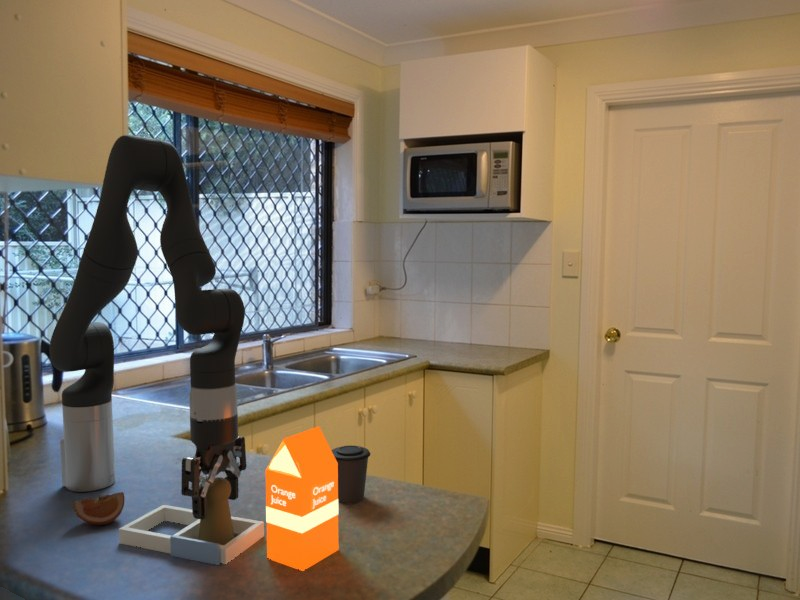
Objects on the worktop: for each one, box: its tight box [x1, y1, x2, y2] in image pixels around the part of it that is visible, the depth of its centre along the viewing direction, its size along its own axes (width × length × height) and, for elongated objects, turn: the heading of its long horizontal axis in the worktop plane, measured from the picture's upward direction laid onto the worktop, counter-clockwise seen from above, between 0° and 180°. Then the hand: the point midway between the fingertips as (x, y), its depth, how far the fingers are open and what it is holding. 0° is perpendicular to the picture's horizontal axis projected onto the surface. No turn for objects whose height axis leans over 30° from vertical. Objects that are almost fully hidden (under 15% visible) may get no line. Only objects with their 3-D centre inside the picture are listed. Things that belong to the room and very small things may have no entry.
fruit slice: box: [72, 491, 125, 526], centre depth 124 cm, size 8×7×5 cm
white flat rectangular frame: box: [118, 504, 265, 566], centre depth 116 cm, size 21×12×3 cm, turn 69°
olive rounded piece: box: [197, 476, 235, 545], centre depth 114 cm, size 6×6×11 cm
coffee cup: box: [331, 445, 371, 505], centre depth 134 cm, size 8×8×10 cm
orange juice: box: [264, 425, 340, 572], centre depth 110 cm, size 8×9×20 cm
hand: (216, 508), depth 114 cm, fingers open, 8 cm apart
